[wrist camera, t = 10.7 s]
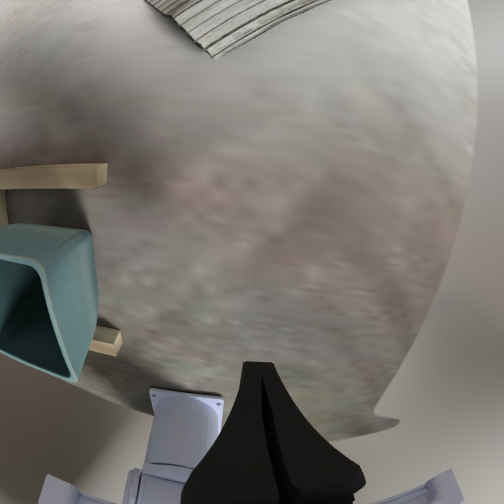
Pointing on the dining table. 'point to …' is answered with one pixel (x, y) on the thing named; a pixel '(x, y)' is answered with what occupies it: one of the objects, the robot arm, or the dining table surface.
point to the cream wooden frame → (62, 179)
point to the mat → (229, 19)
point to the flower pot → (47, 297)
